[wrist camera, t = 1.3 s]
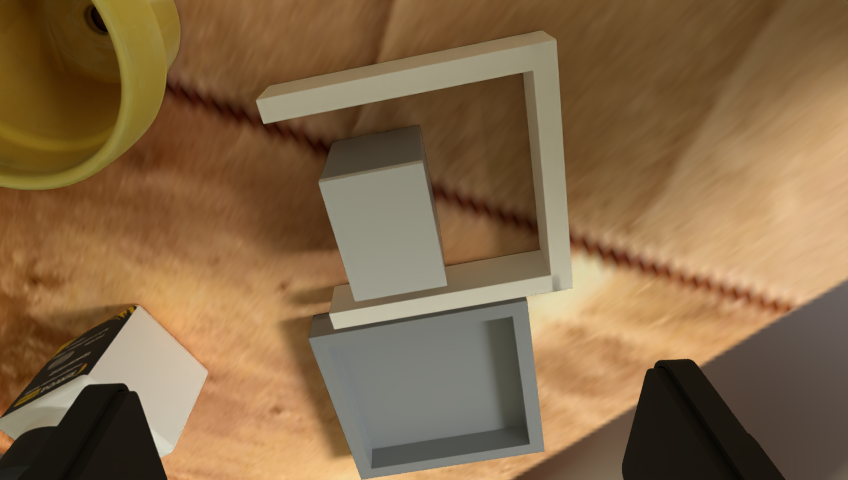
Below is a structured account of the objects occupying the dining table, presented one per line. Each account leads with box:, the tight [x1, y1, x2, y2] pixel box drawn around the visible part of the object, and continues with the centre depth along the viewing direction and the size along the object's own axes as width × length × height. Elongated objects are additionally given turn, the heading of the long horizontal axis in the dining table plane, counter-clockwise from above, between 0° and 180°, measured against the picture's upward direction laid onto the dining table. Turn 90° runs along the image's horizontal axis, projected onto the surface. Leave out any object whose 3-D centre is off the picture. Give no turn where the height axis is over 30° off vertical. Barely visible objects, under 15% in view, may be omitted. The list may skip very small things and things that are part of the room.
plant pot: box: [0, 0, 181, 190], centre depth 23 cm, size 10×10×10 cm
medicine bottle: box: [0, 305, 208, 480], centre depth 32 cm, size 7×7×12 cm
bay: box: [256, 30, 573, 329], centre depth 31 cm, size 15×14×3 cm
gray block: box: [318, 125, 447, 302], centre depth 30 cm, size 5×7×6 cm
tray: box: [308, 296, 545, 480], centre depth 38 cm, size 14×14×2 cm
